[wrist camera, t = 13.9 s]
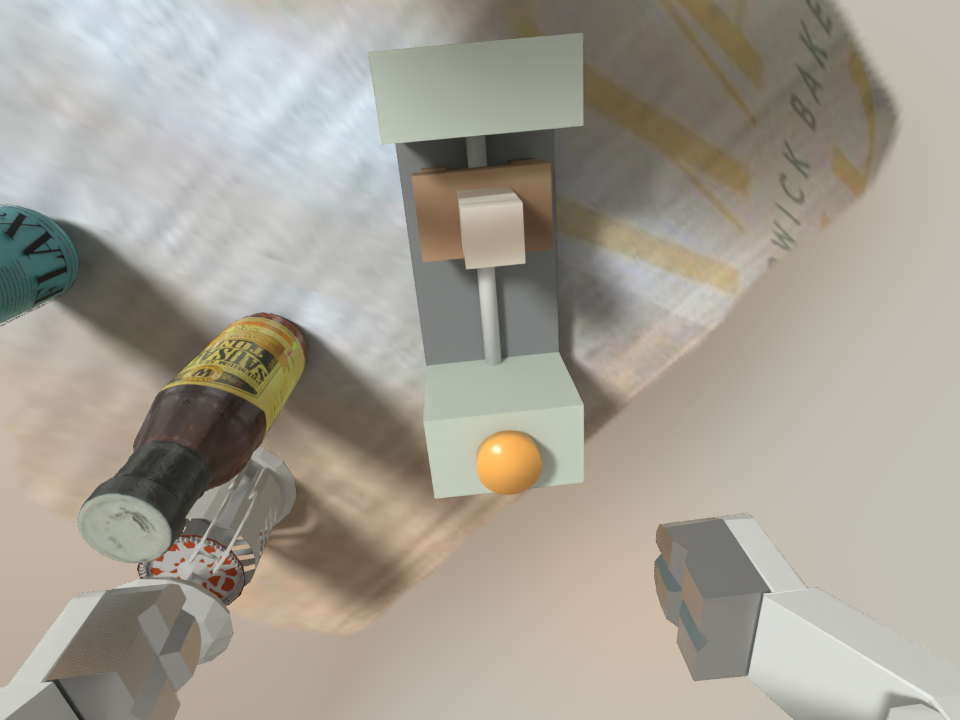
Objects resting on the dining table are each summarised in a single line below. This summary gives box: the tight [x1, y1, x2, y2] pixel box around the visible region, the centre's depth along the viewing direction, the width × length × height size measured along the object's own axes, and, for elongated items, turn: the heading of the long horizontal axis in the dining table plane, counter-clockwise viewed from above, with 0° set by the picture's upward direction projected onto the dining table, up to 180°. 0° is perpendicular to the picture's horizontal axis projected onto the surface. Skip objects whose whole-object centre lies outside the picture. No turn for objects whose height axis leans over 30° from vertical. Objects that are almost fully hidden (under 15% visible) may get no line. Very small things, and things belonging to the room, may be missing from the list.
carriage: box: [412, 158, 553, 269], centre depth 31 cm, size 5×8×10 cm, turn 95°
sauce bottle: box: [78, 312, 308, 563], centre depth 33 cm, size 6×6×20 cm
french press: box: [114, 446, 297, 665], centre depth 35 cm, size 10×12×25 cm
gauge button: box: [476, 430, 542, 495], centre depth 37 cm, size 4×4×6 cm
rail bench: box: [368, 33, 584, 499], centre depth 35 cm, size 26×10×10 cm, turn 5°
